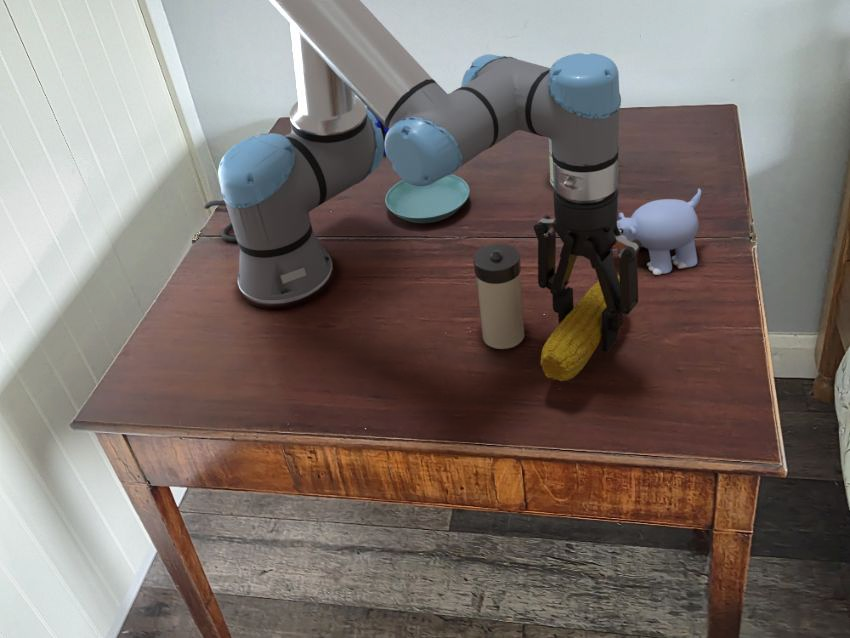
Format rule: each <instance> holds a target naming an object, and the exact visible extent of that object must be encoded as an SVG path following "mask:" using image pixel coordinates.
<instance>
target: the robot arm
mask: <svg viewBox="0 0 850 638" xmlns="http://www.w3.org/2000/svg"><path fill="white" fill-rule="evenodd" d="M268 1H269V2H270V3H271V4H272V5H273V6H274V7H275V8H276V9H277V11H279V13H280V14H281V15H282V16H283V17H284V18H285V19H286V21H288V28H289V29H288V30H289V36H290V45H291V55H292V62H293V71H294V78H295V86H296V87H295V88H296V95H297V101H296V102H295V103H293V105H292V107H291V108H290V111H289V121H290V128H291V129H290V130H291V132H289V133H288V134H286V135H285V136H284V135H283V134H280V133H272V132H268V133H267V132H266V133H261V134H260V135H258V136H256V137H255V136H254V135H252V136H249V137H247V138H244V139H243V140H241V141H239V142H237V143H236V144H234V145H233V146H232V147H231V148H230V149H228V151H226V153H225V154H224V155H223V156H222V158H221V160H220V162H219V165H218V170H217V176H218V182H219V186H220V194H221V198H222V199H223V200H220V199H219V200H211V201H208V202H206V203H205V205H204V206H203V208H204V209H205V210H207V209H210V208H211V207H214V206H215V207H216V206H221V207H226V209H227V213H228V217H229V219H230V222H231V223H229V224H227V225H226V226H225V227H224V228H223V229H222V230H221V233H220V236H221V238H222V239H223V240H224V241H226V242H229V243H230V242H231V243H237V245H238V248H239V267H238V268H239V269H238V273H237V285H238V288H239V291H240V294H241V297H242V298H243V299H244V300H245V302H247V303H248V304H250V305H252V306H254V307H256V308H259V309H260V308H261V309H264V310H265V309H266V310H283V309H289V308H293V307H298V306H300V305H303V304H306V303H308V302H310V301H312V300H314V299H316V298H317V297H318V296H320V295H321V294H323V293H324V292H325V291H326V290H327V289H328V288H329V286H331V283H332V282H333V279H334V275H335V269H334V265H333V261H332V258H331V255H330V254H329V252H328V251H327V250H326V247H324V245H323V244H322V242H321V240H320V239H319V238H318V236H317V235H316V234H315V232H314V231H313V226H312V222H311V217H310V212H311V211H312V210H314V209H317V208H318V207H319V206H321V205H323V204H325V203H326V202H328V201H329V200H331V199H333V198H335V197H336V196H338V195H340V194H341V193H344V192H345V191H347V190H349V189H350V188H351V187H352V188H353V186H356V185H358V184H360V183H361V182H363V181H364V180H366V179H367V177H369V176H370V175H371V174H373V173H374V172H375V171H376V170H377V169H378V168H379V166H380V165H381V163H382V160H383V158H384V155H383V153H384V140H383V135H382V131H381V128H378V127H377V123H378V122H377V120H376V118H375V116H376V117H377V118H378V120H379V121H380V122H381V123H382V124H383V125H384V126H385V127H386V128H387V129H388V130H389V131H388V132H387V134H386V137H385V152H386V155H385V156H386V158H387V159H388V160H389V161H390V162H391V164H392V170H393V171H394V173H395V174H396V175H397V176H398V177H399V178H400V179H401V180H404V181H406V182H407V183H409V184H412V185H415V186H427V185H430V184H432V183H434V182H436V181H438V180H440V179H442V178H443V177H445V176H447V175H450V174H454V173H455V172H457V171H458V170H459V169H460V168H461V167H462V166H464V165H466V164H467V163H469V162H470V161H472V160H473V159H475V157H477V156H479V155H480V154H482V153H483V152H485V151H486V150H488V149H490V148H492V147H493V146H496V145H497V144H498V143H500V142H502V141H503V140H505V139H506V138H508V137H509V136H511V135H512V134H513V133H516V132H517V131H523V132H526V133H529V134H532V135H535V136H540V137H545V138H548V139H549V138H550V139H551V144H552V159H553V182H554V187H553V189H554V191H553V212H554V213H553V215H554V218H552V217H551V216H550V215H546V214H545V215H544V216H543V217H542V218H541V219H540V220H538V221H537V223H536V224H535V225H534V226H533V230H534V233H535V237H536V238H537V239H536V240H537V285H538V287H540V288H541V289H548V290H549V292H550V294H551V296H552V297H551V298H552V310H553V312H554V313H556V314H557V316H558V318H557V319H558V324H559V323H561V322H562V321H563V320H564V319H565V317H566V316H567V315H568V314H569V313H570V312H571V310H572V309H574V288H573V287H570V286H568V285H569V284H570V282H571V281H570V278H571V275H572V272H573V269H574V266H575V263H576V260H577V258H578V257H583V258H586V259H587V260H589V262H590V265H591V268H592V269H593V270H595V273H596V277H597V281H598V282H599V284H600V287H601V290H602V293H603V297H604V300H605V303H606V306H607V307H606V308H605V309H604V310H603V312H602V340H601V352H604V353H608V352H609V351H610V350H611V348H613V346H614V345H615V344H616V342H617V339H618V334H617V333H618V331H619V330H620V329H621V328H622V326H623V324H624V315H630V313H631V312H632V310H633V309H634V308H635V306H637V304H638V303H639V276H638V275H639V274H638V255H639V252H640V250H641V248H642V247H641V245H642V244H641V242H640V241H639V240H638V239H634V240H633V241H632V242H631V241H629V240H627V239H625V238H623V237H622V236H620V231H619V229H618V227H617V221H618V218H619V188H618V187H619V185H620V183H619V182H620V180H619V178H620V175H619V174H620V173H619V172H620V171H619V168H620V167H619V165H620V164H619V161H620V159H619V149H620V147H619V130H620V129H619V128H620V127H619V126H620V111H621V110H620V109H621V106H622V105H621V104H622V96H621V93H620V78H619V77H620V75H619V69H618V66H617V64H616V63H615V62H614V61H613V60H612V58H609V57H607V56H605V55H603V54H599V53H598V54H597V53H594V52H593V53H589V54H584V53H582V52H579V53H574V54H573V53H572V54H569V55H566V56H563V57H561V58H559V59H557V60H556V61H555V62H553V64H552V65H551V66H550V67H547V66H544V65H540V64H536V63H533V62H529V61H526V60H523V59H522V60H521V59H518V58H517V57H513V56H506V55H496V54H490V53H489V54H483V55H480V56H478V57H476V58H475V59H474V60H473V61H472V62H471V65H470V67H469V68H468V69H466V70H465V72H464V74H463V77H462V80H461V84H460V87H458V88H455V90H453V91H451V92H449V93H448V92H446V91H445V90H444V89H443V87H442V86H440V84H438V82H436V80H435V79H433V77H432V76H431V75H430V74H429V73H428V72H427V71H426V70H425V69H424V67H422V66H421V64H420V63H419V62H418V61H417V60H416V59H415V58H414V56H412V55H411V54H410V52H408V50H407V49H406V48H405V47H404V46H403V45H402V44H401V43H400V42H399V40H397V38H396V37H395V36H393V34H392V33H391V32H390V31H389V30H388V28H386V27H385V25H383V23H382V22H381V21H380V20H379V19H378V18H377V17H376V16H375V15H374V14H373V12H372V11H371V10H370V9H369V8H368V7H367V6H366V5H365V4H364V3H363V2H362V1H361V0H268ZM364 104H365V105H366V106H367V108H368V109H369V110H370V111H371V112H372V113H373V114H374V115H375V116H374V115H373V114H372V113H371V112H370V111H369V110H368V109H367V108H366V107H365V105H364ZM231 230H233V232H234V236H231V235H228V233H229V232H230V231H231ZM557 236H558V238H559V239H560V240H561V242H562V243H563V244H562V248H561V251H560V254H559V257H560V258H559V261H558V264H557V263H556V261H557V260H556V259H557V257H556V255H557ZM614 245H615V246H616V247H617V249H618V251H617V255H616V256H617V258H618V259H619V261H618V272H617V268H616V266H615V262H614V254H615V253H614V252H613V250H612V247H613V246H614ZM556 264H557V267H556ZM618 275H619V279H618ZM619 280H620V282H619Z"/></svg>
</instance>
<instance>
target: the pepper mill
mask: <svg viewBox="0 0 850 638" xmlns="http://www.w3.org/2000/svg"><path fill="white" fill-rule="evenodd" d="M472 258H473V260H472V261H473V269H474V270H473V271H474V275H475V278H476V279H475V282H476V290H477V299H478V300H477V301H478V309H479V318H480V328H481V337H482V340H483V342H484V344H486V345H487V346H488V347H490V348H493V349H496V350H497V349H498V350H506V349H507V350H508V349H511V348H514V347H516V346H518V345H519V344H521V342H522V341H523V340H524V339H525V333H526V332H525V321H524V306H523V305H524V304H523V290H522V289H523V288H522V276H521V270H522V264H521V253H520V252H519V250H518V249H517V248H516V247H514V246H513V245H510V244H506V243H492V244H488V245H485V246H483V247H481V248H479V249H478V250H477V251H476V252H475V253H474V255H473V257H472Z"/></svg>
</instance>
